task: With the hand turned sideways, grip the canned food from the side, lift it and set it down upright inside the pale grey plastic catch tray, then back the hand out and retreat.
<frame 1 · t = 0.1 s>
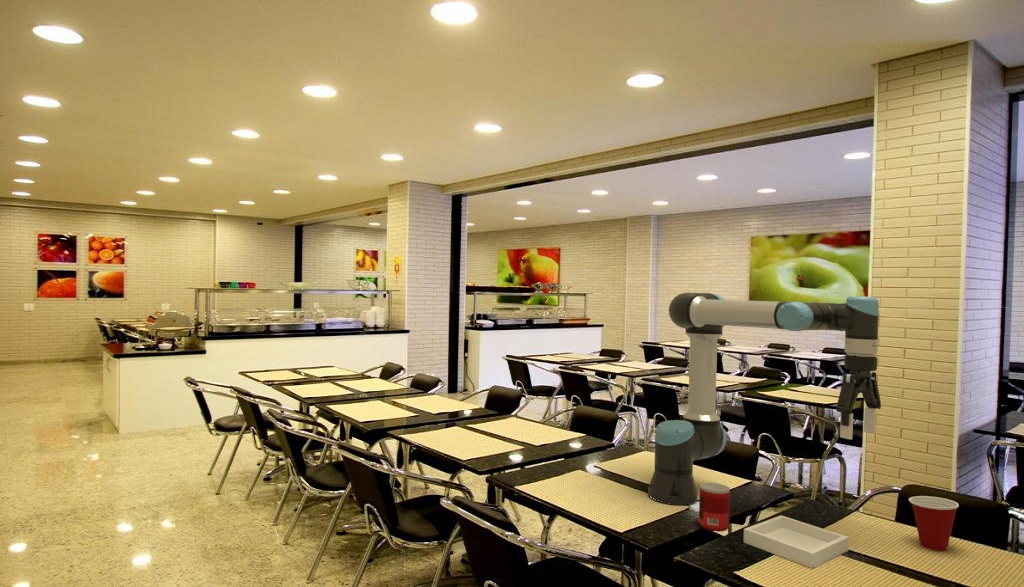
hand: (858, 435, 161), 28 cm above the table, tool pointing down, fingers open, 13 cm apart
canned food: (713, 527, 169), on the table
catch tray: (795, 546, 156), on the table
plastic cup: (932, 547, 159), on the table
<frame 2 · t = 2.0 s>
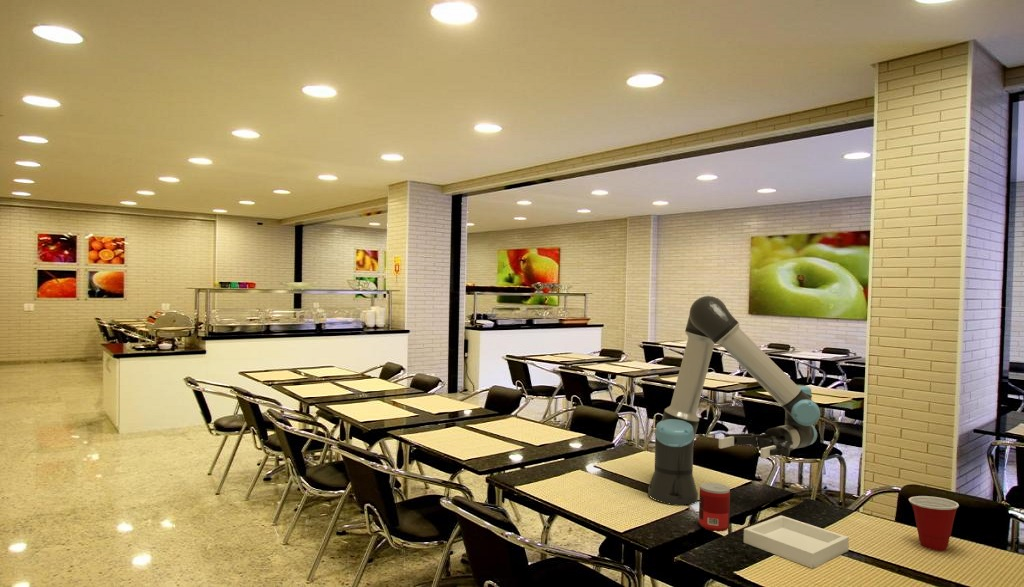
hand: (740, 448, 176), 20 cm above the table, tool horizontal, fingers open, 13 cm apart
nothing on the table moved.
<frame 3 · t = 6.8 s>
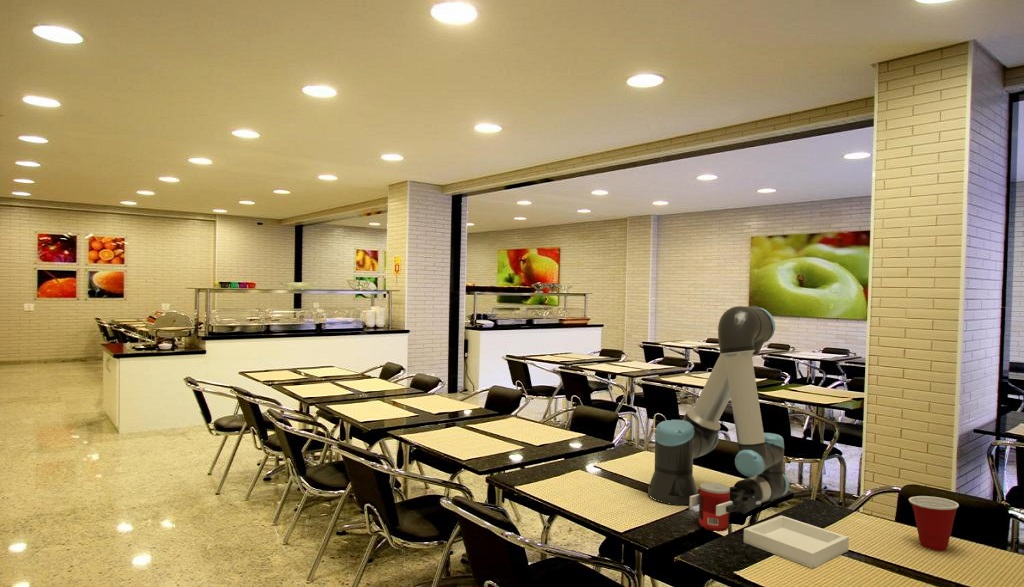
hand: (703, 506, 166), 7 cm above the table, tool horizontal, fingers closed on canned food, 8 cm apart
canned food: (713, 527, 169), on the table, touching gripper
everything else where it was.
when the fingers open (9 cm above the table, at t = 12.0 s): canned food drops 2 cm, resting on catch tray.
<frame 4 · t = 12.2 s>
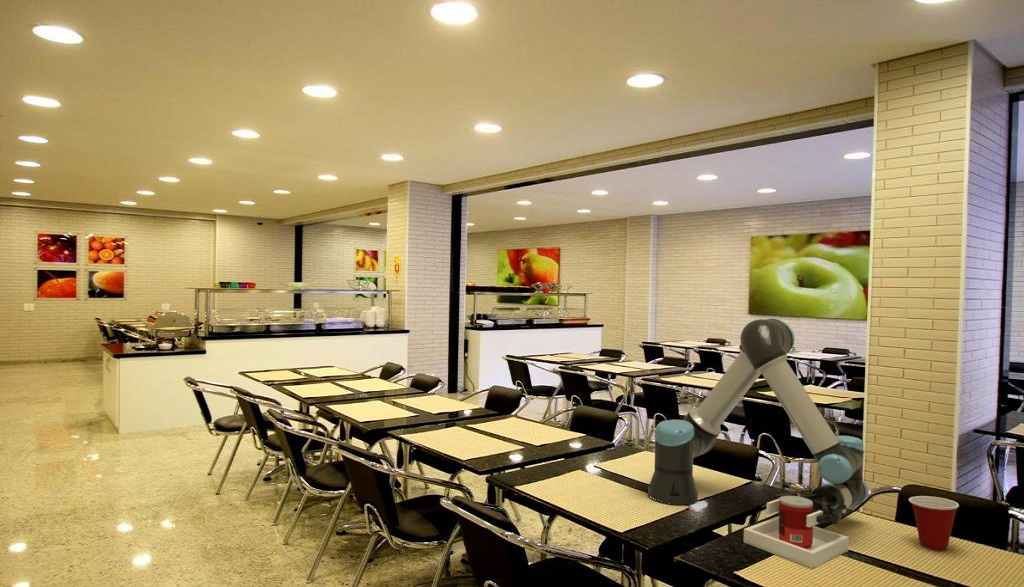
hand: (787, 514, 154), 9 cm above the table, tool horizontal, fingers open, 10 cm apart
canned food: (795, 543, 156), point 1 cm above the table, touching catch tray
everything else where it was.
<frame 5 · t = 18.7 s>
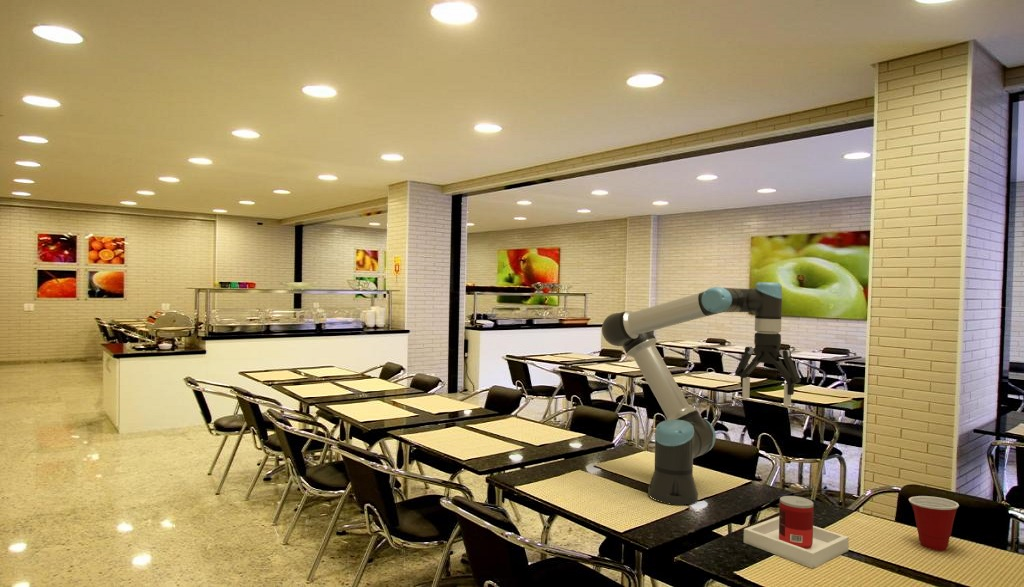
hand: (765, 402, 187), 32 cm above the table, tool pointing down, fingers open, 13 cm apart
nothing on the table moved.
at the end: canned food inside the target area on the catch tray (0.0 cm from its centre), point 0.6 cm above the catch tray's base; canned food tilted 0°; the gripper is holding nothing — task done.
